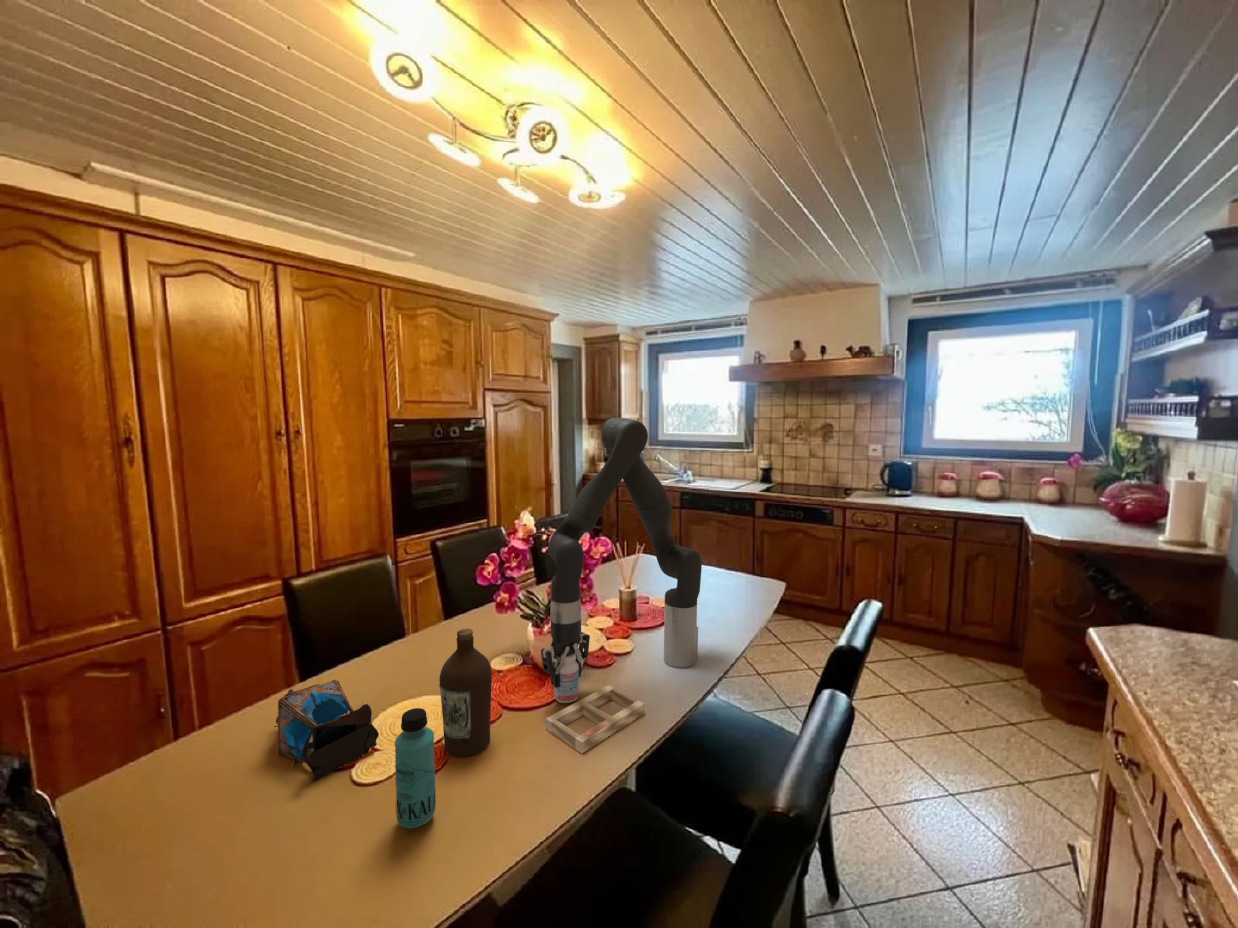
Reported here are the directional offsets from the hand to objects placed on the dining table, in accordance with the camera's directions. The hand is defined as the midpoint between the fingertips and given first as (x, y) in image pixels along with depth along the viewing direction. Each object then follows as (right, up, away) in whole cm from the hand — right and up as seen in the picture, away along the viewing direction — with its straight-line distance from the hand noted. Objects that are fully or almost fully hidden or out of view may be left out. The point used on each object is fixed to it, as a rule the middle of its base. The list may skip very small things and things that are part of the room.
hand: (566, 681), depth 127 cm
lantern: (-51, -6, -18) cm, 54 cm away
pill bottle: (0, -4, 0) cm, 4 cm away
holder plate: (+8, -6, -9) cm, 13 cm away
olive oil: (-20, -6, -17) cm, 27 cm away
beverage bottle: (-22, -8, -38) cm, 45 cm away
